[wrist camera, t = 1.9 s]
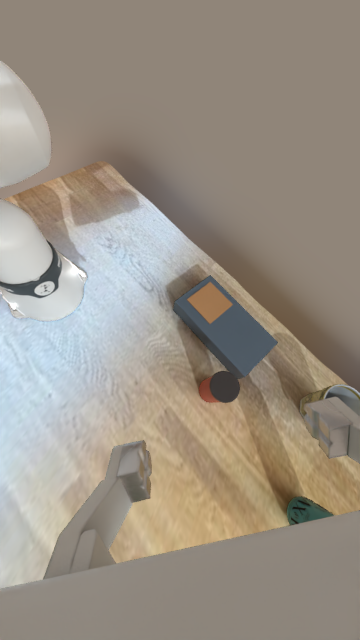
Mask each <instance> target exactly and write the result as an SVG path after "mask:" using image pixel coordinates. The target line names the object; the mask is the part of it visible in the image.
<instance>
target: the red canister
mask: <svg viewBox="0 0 360 640" xmlns="http://www.w3.org/2000/svg"><path fill="white" fill-rule="evenodd" d="M239 390H240V386H239V382H238V380H237V378H236V377H235V376H234V375H233V374H232V373H230V372H227V371H220V372H218V373H216V374H214V375H213V376H211V377H209V378H207V379H205V380H203V381H202V382H201V384H200V386H199V394H200V396H201V398H202V399H203V400H204V401H206V402H223V403H228V402H232V401H233V400H235V399H236V398H237V396H238V394H239Z"/></svg>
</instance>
